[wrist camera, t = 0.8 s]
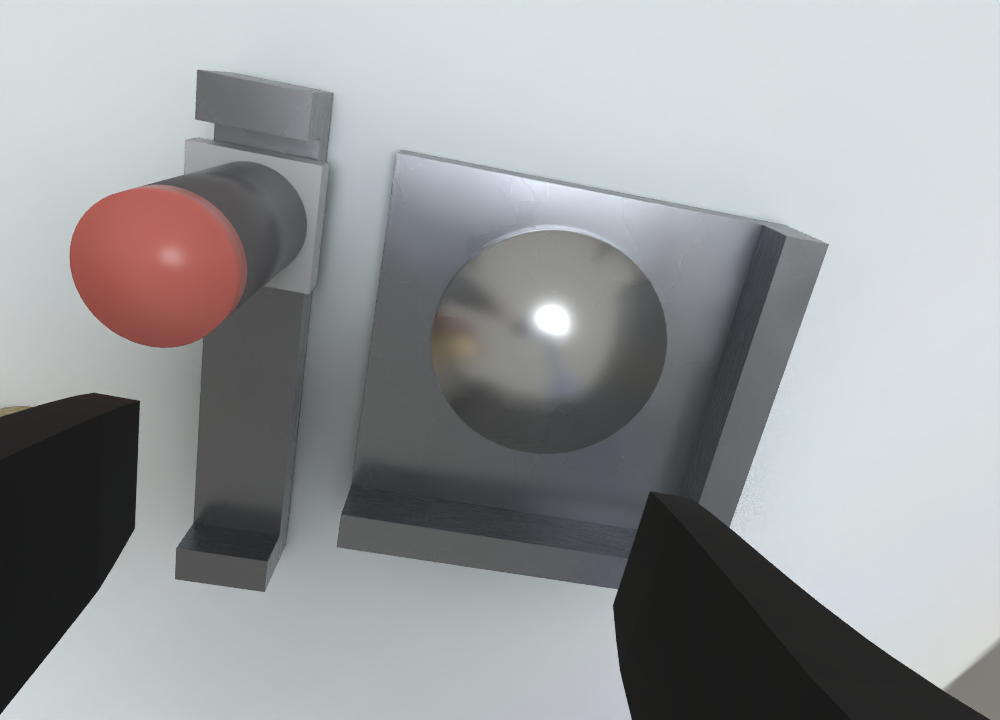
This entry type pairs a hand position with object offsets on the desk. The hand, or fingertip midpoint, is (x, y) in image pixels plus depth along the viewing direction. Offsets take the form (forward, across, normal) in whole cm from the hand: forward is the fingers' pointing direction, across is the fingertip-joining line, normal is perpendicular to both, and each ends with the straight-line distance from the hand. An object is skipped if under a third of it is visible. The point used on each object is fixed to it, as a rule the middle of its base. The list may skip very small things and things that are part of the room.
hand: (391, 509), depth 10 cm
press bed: (+10, -4, +1) cm, 10 cm away
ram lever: (+9, +4, -2) cm, 10 cm away
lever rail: (+10, +4, +2) cm, 11 cm away
